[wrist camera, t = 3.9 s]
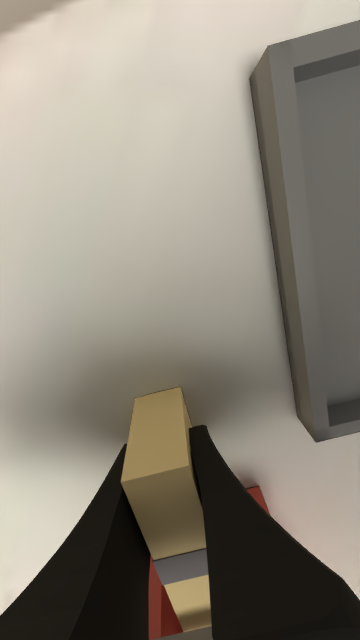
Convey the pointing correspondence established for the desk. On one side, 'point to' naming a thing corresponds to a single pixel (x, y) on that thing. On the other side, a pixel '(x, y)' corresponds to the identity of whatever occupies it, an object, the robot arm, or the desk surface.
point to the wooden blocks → (169, 502)
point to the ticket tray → (315, 215)
